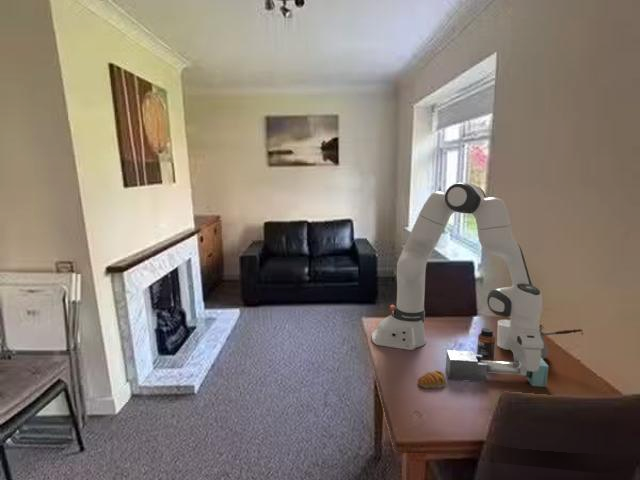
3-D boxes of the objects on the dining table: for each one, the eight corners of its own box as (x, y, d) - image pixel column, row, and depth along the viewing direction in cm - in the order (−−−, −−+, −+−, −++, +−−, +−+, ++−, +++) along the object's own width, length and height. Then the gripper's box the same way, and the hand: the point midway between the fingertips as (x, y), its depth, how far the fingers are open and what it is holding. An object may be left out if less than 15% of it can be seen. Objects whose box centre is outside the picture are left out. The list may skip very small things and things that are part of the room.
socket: (531, 385, 132) (534, 365, 131) (524, 374, 139) (526, 355, 138) (546, 386, 132) (548, 366, 130) (537, 375, 139) (539, 356, 137)
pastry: (425, 392, 129) (426, 381, 128) (412, 382, 135) (413, 372, 134) (448, 385, 132) (448, 375, 132) (434, 376, 138) (435, 366, 138)
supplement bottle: (492, 355, 153) (495, 327, 151) (494, 362, 148) (496, 333, 146) (476, 352, 155) (478, 325, 153) (477, 359, 150) (479, 331, 148)
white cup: (512, 342, 164) (514, 319, 162) (520, 351, 157) (522, 327, 155) (493, 341, 165) (495, 319, 163) (499, 350, 157) (501, 326, 155)
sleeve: (449, 379, 136) (450, 359, 134) (445, 369, 143) (446, 350, 142) (485, 382, 134) (487, 362, 133) (480, 371, 141) (481, 352, 140)
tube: (481, 376, 135) (482, 362, 134) (477, 369, 140) (478, 355, 139) (540, 381, 132) (542, 366, 131) (534, 373, 137) (536, 359, 136)
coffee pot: (511, 357, 151) (515, 320, 149) (517, 346, 160) (521, 311, 158) (577, 375, 139) (582, 335, 136) (579, 362, 148) (585, 324, 145)
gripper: (504, 320, 143) (500, 355, 146) (524, 345, 123) (520, 385, 126) (522, 321, 142) (519, 356, 145) (546, 346, 123) (541, 387, 125)
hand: (519, 370), depth 135 cm, fingers closed on tube, 4 cm apart
